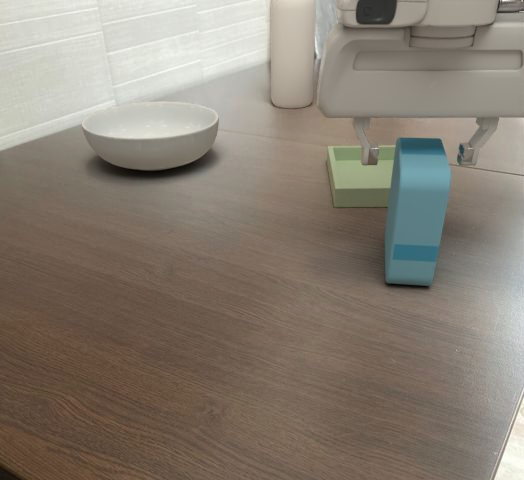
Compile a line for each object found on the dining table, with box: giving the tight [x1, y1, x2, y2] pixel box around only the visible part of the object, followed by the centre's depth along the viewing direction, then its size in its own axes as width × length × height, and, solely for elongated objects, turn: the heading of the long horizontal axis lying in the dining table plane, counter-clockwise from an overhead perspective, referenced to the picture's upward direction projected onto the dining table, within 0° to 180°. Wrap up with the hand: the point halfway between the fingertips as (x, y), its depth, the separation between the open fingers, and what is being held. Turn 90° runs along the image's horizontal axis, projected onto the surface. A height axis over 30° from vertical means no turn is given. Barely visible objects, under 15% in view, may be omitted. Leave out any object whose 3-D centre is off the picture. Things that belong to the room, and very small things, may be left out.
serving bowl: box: [80, 100, 220, 172], centre depth 87 cm, size 21×21×7 cm
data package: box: [384, 136, 452, 287], centre depth 57 cm, size 12×4×12 cm, turn 171°
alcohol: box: [269, 0, 317, 109], centre depth 108 cm, size 9×9×30 cm
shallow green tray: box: [326, 144, 396, 208], centre depth 79 cm, size 14×18×3 cm
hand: (417, 163), depth 54 cm, fingers open, 8 cm apart
